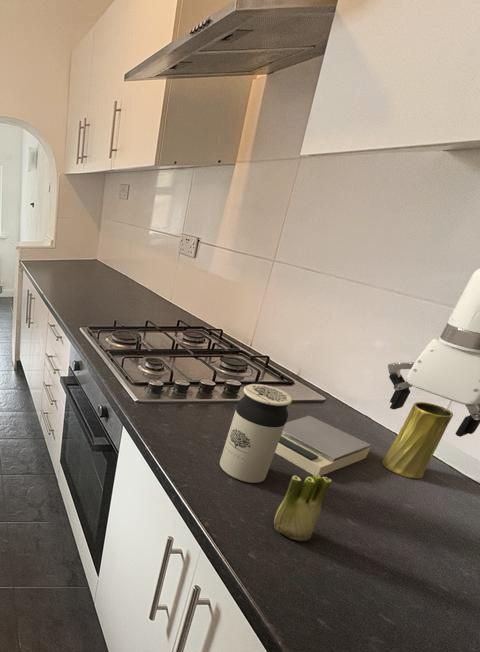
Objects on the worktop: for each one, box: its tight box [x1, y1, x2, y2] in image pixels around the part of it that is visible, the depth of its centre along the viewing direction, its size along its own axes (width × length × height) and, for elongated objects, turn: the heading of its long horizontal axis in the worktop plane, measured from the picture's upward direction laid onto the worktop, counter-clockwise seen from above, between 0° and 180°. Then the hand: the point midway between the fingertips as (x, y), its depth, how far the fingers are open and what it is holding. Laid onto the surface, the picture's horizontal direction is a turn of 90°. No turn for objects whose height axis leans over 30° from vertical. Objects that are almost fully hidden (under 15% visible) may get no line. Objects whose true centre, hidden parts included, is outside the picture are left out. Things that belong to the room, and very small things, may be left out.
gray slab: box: [282, 415, 371, 462], centre depth 89 cm, size 12×12×1 cm
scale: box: [274, 434, 371, 477], centre depth 89 cm, size 16×12×3 cm
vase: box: [381, 401, 454, 480], centre depth 81 cm, size 6×6×14 cm
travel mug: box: [219, 383, 293, 484], centre depth 80 cm, size 8×8×18 cm
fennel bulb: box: [273, 474, 333, 542], centre depth 67 cm, size 6×5×12 cm
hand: (426, 420), depth 80 cm, fingers open, 9 cm apart
